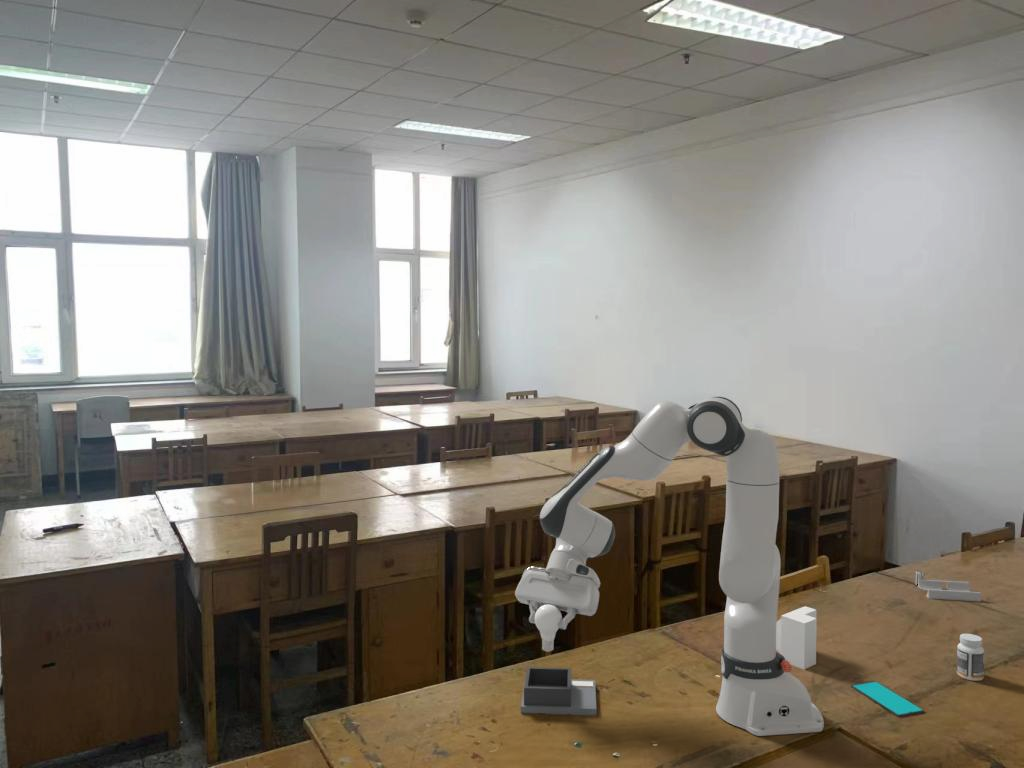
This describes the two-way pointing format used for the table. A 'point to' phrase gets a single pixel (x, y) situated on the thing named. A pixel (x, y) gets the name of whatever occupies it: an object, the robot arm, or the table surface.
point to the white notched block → (797, 637)
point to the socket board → (557, 692)
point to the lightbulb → (547, 624)
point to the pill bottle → (970, 657)
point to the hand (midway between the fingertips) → (546, 625)
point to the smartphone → (887, 699)
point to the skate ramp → (953, 592)
